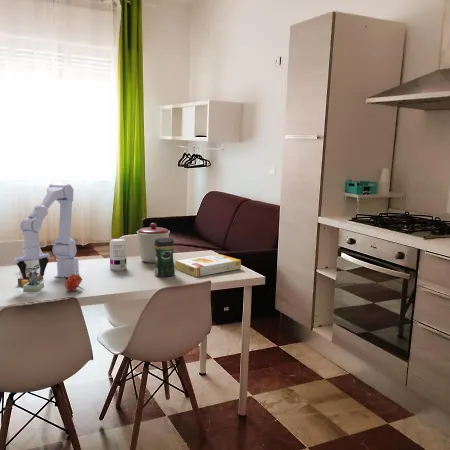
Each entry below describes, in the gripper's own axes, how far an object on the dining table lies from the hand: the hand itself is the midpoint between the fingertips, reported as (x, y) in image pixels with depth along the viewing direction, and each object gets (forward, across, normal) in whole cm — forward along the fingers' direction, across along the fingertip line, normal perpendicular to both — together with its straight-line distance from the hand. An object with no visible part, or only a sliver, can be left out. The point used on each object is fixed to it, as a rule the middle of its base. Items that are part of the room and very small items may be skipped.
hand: (33, 276), depth 206 cm
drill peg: (+5, 0, 0) cm, 5 cm away
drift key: (+5, -1, -8) cm, 10 cm away
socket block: (+5, -3, -11) cm, 12 cm away
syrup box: (+5, -14, -37) cm, 40 cm away
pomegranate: (+6, -12, +14) cm, 19 cm away
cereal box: (+6, -81, +23) cm, 84 cm away
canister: (+5, -70, -10) cm, 71 cm away
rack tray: (+5, 0, 0) cm, 5 cm away
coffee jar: (+6, -56, +18) cm, 60 cm away
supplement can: (+5, -46, -7) cm, 47 cm away
